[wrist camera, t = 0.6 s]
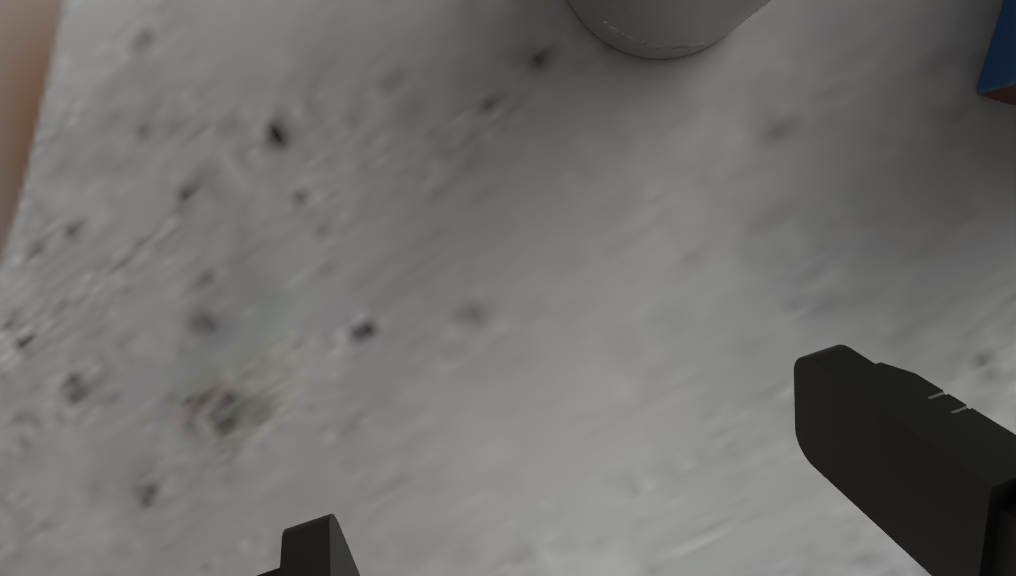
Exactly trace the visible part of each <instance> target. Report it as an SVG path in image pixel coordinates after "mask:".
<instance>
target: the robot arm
mask: <svg viewBox="0 0 1016 576" xmlns="http://www.w3.org/2000/svg"><path fill="white" fill-rule="evenodd" d="M568 1H569V3H570V5H571V7H572V8H573V10H574V11H575V12H576V14H577V15H578V17H579V18H580V19H581V21H582V22H583V24H584V25H585V26H586V27H587V28H588V29H590V30H591V31H592V32H593V33H594V34H595V35H596V36H597V37H598V38H599V39H601V40H602V41H604V42H606V43H607V44H609V45H611V46H612V47H614V48H616V49H618V50H619V51H622V52H625V53H629V54H632V55H635V56H638V57H643V58H654V59H668V58H676V57H684V56H686V55H689V54H692V53H695V52H698V51H700V50H703V49H705V48H707V47H708V46H710V45H712V44H713V43H715V42H716V41H718V40H720V39H721V38H723V37H724V36H725V35H727V34H728V33H729V32H731V31H732V30H733V29H734V28H736V27H737V26H738V25H739V24H741V23H742V22H743V21H745V20H746V19H747V18H748V17H750V16H751V15H752V14H754V13H755V12H757V11H758V10H759V9H761V8H762V7H763V6H765V5H766V4H767V3H768V2H770V1H771V0H568ZM794 394H795V431H796V436H797V440H798V443H799V445H800V448H801V450H802V452H803V453H804V455H805V457H806V458H807V459H808V461H809V462H810V463H811V464H812V465H813V466H814V467H815V468H816V469H817V470H818V471H819V472H820V473H821V474H822V475H823V476H824V477H826V478H827V479H828V480H829V481H830V482H831V483H832V484H833V485H834V486H835V487H836V488H837V489H839V490H840V491H841V492H842V493H843V494H844V495H845V496H846V497H847V498H848V499H849V500H850V501H852V502H853V503H854V504H855V505H856V506H857V507H858V508H859V509H860V510H861V511H862V512H863V513H865V514H866V515H867V516H868V517H869V518H870V519H871V520H872V521H873V522H874V523H875V524H876V525H878V526H879V527H880V528H881V529H882V530H883V531H884V532H885V533H886V534H887V535H888V536H889V537H891V538H892V539H893V540H894V541H895V542H896V543H897V544H898V545H899V546H900V547H901V548H902V549H903V550H905V551H906V552H907V553H908V554H909V555H910V556H911V557H912V558H913V559H914V560H915V561H916V562H918V563H919V564H920V565H921V566H922V567H923V568H924V569H925V570H926V571H927V572H928V573H929V574H931V575H932V576H1016V435H1015V434H1014V433H1012V432H1010V431H1009V430H1007V429H1005V428H1004V427H1002V426H1000V425H999V424H997V423H995V422H994V421H992V420H991V419H989V418H987V417H986V416H984V415H982V414H981V413H979V412H977V411H976V410H974V409H973V408H972V409H968V408H967V406H966V404H964V403H963V402H961V401H959V400H958V399H956V398H955V397H953V396H951V395H950V394H947V395H945V394H944V393H943V390H941V389H940V388H938V387H937V386H935V385H933V384H932V383H930V382H928V381H927V380H925V379H923V378H922V377H920V376H918V375H917V374H915V373H912V372H909V371H906V370H903V369H900V368H896V367H893V366H890V365H887V364H884V363H881V362H880V363H877V364H874V363H873V362H871V361H870V360H868V359H867V358H865V357H863V356H862V355H860V354H859V353H857V352H856V351H854V350H852V349H851V348H849V347H847V346H845V345H836V346H833V347H830V348H827V349H824V350H821V351H818V352H815V353H812V354H809V355H806V356H803V357H800V358H799V359H798V360H797V361H796V363H795V366H794ZM257 576H360V574H359V572H358V569H357V567H356V565H355V562H354V560H353V557H352V555H351V552H350V550H349V547H348V545H347V543H346V540H345V538H344V535H343V533H342V530H341V528H340V526H339V523H338V521H337V519H336V517H335V516H334V515H333V514H329V515H326V516H323V517H320V518H317V519H314V520H311V521H308V522H305V523H302V524H299V525H296V526H293V527H290V528H287V529H285V530H284V532H283V535H282V547H281V562H280V568H278V569H275V570H272V571H269V572H266V573H263V574H260V575H257Z"/></svg>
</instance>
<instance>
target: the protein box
mask: <svg viewBox="0 0 1016 576" xmlns="http://www.w3.org/2000/svg"><path fill="white" fill-rule="evenodd" d="M977 91H978V93H979V94H980V95H983V96H986V97H989V98H992V99H996V100H1000V101H1002V102H1005V103H1009V104H1013V105H1016V0H1005V1H1004V4H1003V7H1002V10H1001V14H1000V17H999V20H998V23H997V26H996V29H995V32H994V35H993V38H992V42H991V45H990V48H989V51H988V54H987V57H986V60H985V64H984V68H983V71H982V73H981V77H980V80H979V83H978V87H977Z"/></svg>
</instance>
